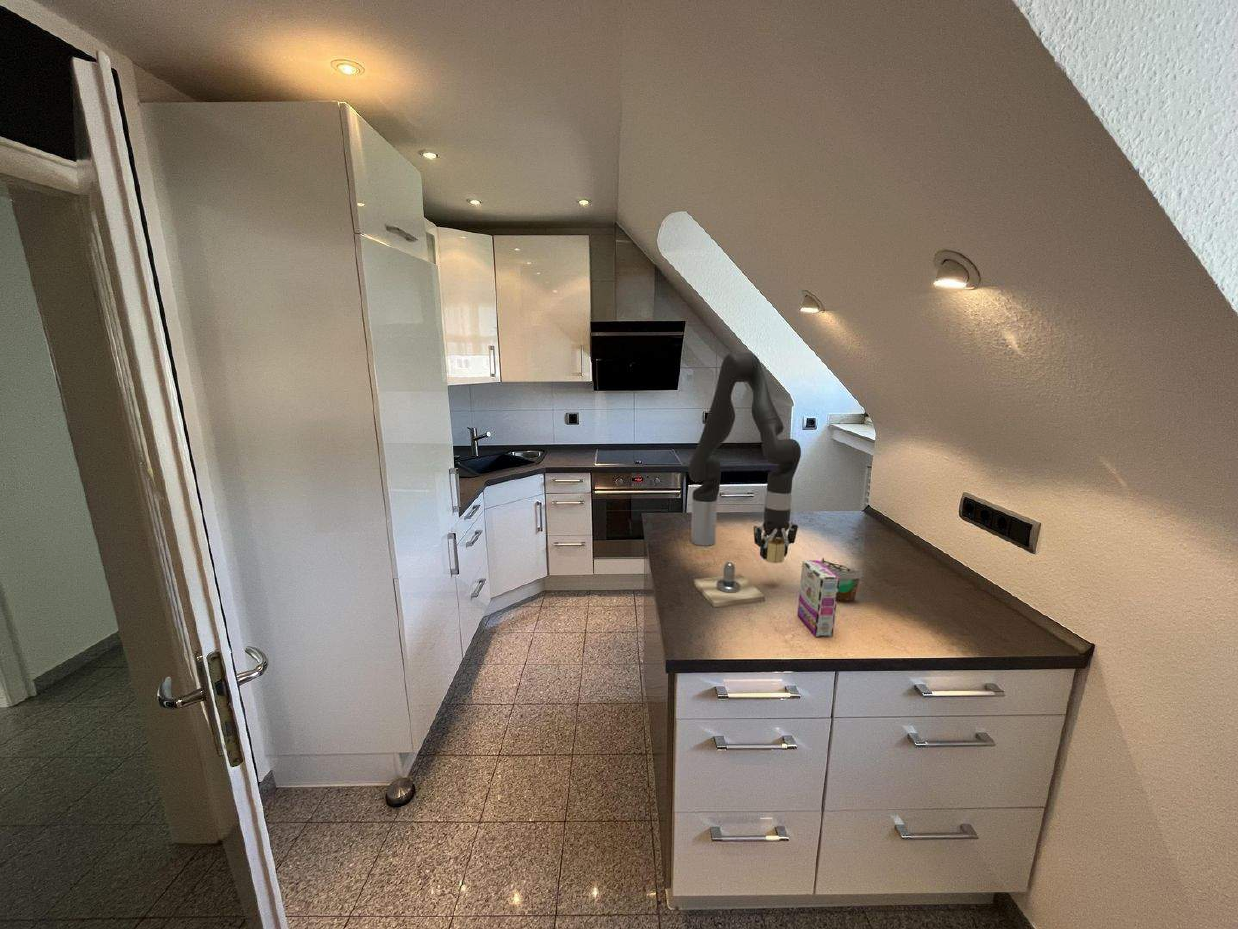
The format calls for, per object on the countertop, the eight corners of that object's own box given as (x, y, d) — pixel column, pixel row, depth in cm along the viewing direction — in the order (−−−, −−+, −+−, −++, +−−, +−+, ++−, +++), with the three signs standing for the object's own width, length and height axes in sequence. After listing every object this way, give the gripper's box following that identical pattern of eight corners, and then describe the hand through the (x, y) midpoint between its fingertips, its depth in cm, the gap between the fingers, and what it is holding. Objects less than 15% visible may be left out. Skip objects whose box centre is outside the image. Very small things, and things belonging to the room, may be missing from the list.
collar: (759, 555, 151) (760, 537, 150) (776, 554, 152) (778, 536, 151) (769, 564, 145) (771, 545, 144) (787, 562, 147) (789, 543, 145)
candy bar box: (834, 637, 123) (840, 578, 120) (815, 638, 123) (821, 578, 119) (814, 614, 134) (819, 559, 131) (796, 615, 134) (801, 559, 130)
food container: (808, 593, 146) (811, 562, 144) (819, 587, 150) (822, 556, 148) (849, 609, 137) (853, 576, 135) (859, 602, 141) (863, 570, 139)
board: (693, 583, 152) (694, 579, 151) (740, 578, 156) (740, 574, 155) (714, 607, 138) (714, 602, 137) (764, 601, 141) (765, 596, 141)
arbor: (712, 583, 149) (713, 559, 147) (733, 581, 150) (734, 556, 149) (722, 594, 142) (724, 568, 140) (744, 591, 144) (746, 566, 142)
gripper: (791, 499, 150) (787, 550, 154) (749, 503, 147) (746, 554, 151) (806, 507, 143) (801, 560, 147) (762, 510, 140) (758, 564, 143)
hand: (773, 556), depth 149 cm, fingers closed on collar, 6 cm apart
